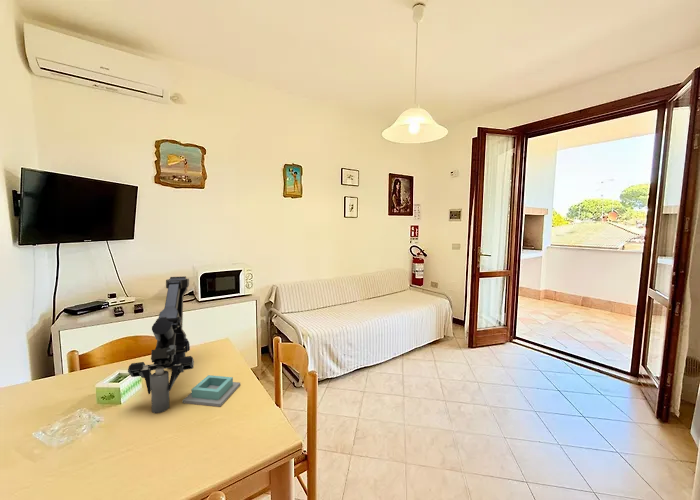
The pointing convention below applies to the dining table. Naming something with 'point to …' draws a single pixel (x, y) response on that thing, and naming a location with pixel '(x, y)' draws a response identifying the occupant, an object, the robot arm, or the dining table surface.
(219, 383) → the socket
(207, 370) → the dining table surface
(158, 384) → the plug
